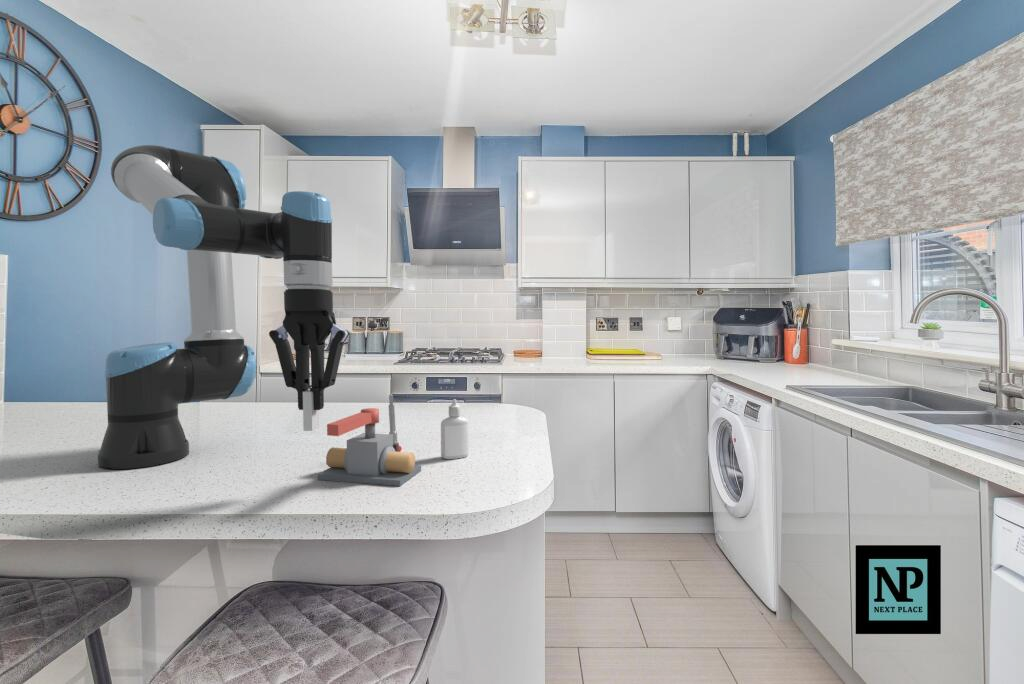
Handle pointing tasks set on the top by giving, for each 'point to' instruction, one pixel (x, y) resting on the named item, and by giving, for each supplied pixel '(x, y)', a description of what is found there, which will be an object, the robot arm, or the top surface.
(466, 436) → the eye dropper bottle
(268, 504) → the top surface
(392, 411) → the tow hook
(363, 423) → the lever
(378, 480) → the valve base
